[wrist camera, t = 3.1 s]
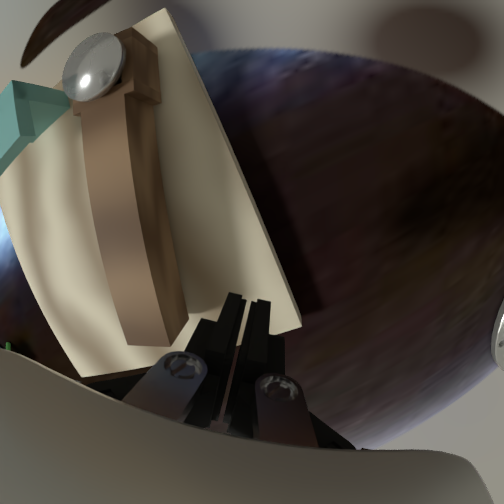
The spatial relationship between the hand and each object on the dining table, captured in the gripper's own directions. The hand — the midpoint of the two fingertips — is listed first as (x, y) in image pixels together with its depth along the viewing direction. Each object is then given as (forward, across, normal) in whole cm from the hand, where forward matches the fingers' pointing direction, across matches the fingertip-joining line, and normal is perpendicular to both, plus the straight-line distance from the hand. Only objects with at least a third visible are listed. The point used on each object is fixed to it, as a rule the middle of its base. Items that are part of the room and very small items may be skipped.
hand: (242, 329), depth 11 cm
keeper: (+8, +18, -7) cm, 20 cm away
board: (+9, +12, 0) cm, 15 cm away
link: (+7, +8, -4) cm, 11 cm away
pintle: (+7, +10, -10) cm, 16 cm away
